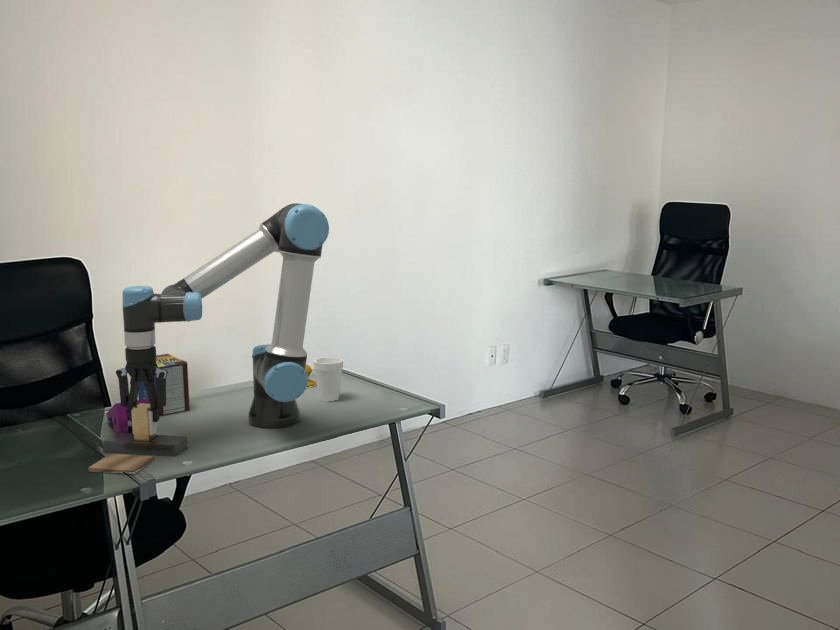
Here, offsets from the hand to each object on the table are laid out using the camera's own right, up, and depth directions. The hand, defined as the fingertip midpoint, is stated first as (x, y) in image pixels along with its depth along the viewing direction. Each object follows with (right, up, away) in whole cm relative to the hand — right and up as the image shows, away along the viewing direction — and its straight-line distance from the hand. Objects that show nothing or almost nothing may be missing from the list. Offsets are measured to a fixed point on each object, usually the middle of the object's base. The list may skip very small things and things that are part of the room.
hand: (145, 432), depth 203 cm
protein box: (-8, +2, +38) cm, 39 cm away
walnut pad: (-2, -7, -11) cm, 13 cm away
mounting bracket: (-12, -2, +19) cm, 23 cm away
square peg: (0, -5, +1) cm, 5 cm away
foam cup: (+43, +3, +49) cm, 65 cm away
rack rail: (0, -5, +1) cm, 5 cm away
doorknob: (+32, +6, +66) cm, 74 cm away
